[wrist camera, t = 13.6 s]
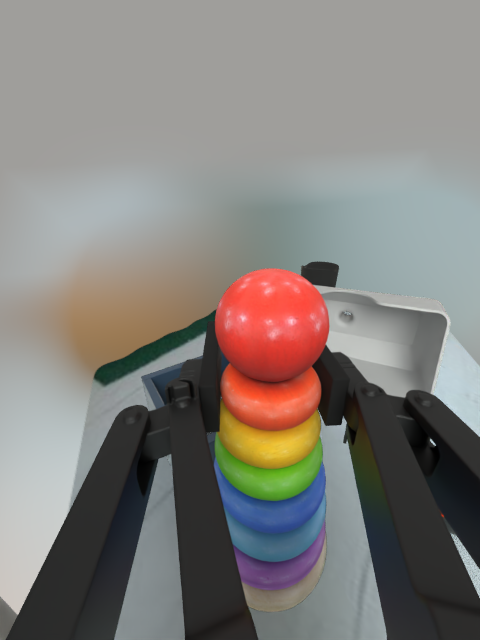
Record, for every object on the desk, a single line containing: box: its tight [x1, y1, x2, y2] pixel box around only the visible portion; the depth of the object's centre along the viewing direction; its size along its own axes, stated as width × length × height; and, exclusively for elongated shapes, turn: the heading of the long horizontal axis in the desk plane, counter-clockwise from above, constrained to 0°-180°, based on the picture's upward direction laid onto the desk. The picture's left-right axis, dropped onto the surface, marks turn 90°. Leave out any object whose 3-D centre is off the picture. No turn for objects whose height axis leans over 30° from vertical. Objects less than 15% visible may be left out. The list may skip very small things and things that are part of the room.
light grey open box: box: [313, 285, 451, 398], centre depth 42 cm, size 25×16×12 cm, turn 62°
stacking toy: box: [214, 269, 330, 612], centre depth 14 cm, size 8×8×19 cm
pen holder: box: [301, 262, 339, 288], centre depth 69 cm, size 9×9×10 cm
